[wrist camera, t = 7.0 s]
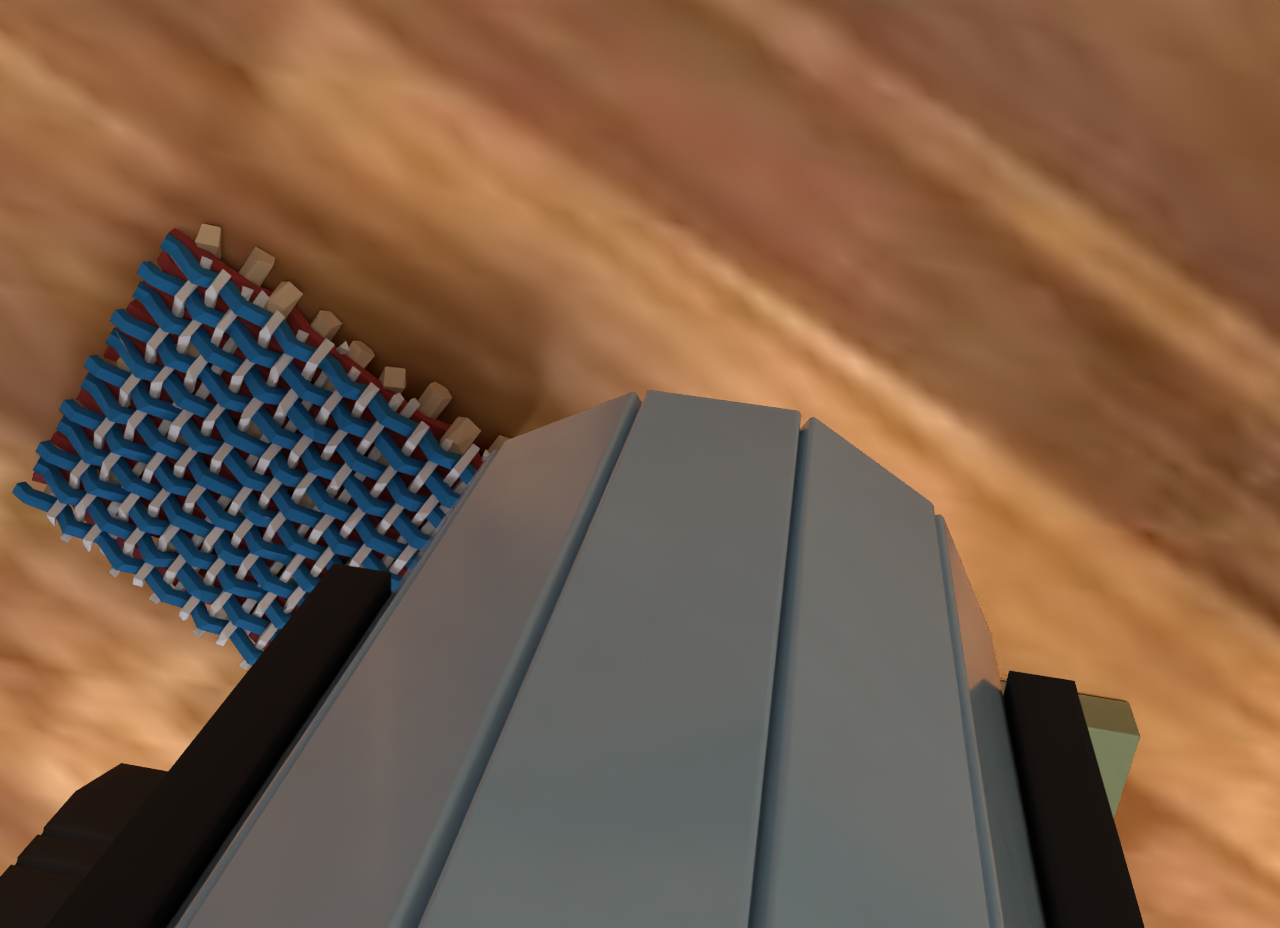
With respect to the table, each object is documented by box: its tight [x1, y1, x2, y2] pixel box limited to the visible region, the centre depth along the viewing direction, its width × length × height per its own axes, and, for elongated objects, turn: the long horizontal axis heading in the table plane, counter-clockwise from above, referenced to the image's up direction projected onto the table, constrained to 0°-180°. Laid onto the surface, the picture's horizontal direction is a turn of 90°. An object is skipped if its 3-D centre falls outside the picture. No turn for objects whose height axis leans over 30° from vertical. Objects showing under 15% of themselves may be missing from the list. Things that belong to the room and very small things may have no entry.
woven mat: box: [12, 224, 510, 670], centre depth 33 cm, size 10×11×2 cm
